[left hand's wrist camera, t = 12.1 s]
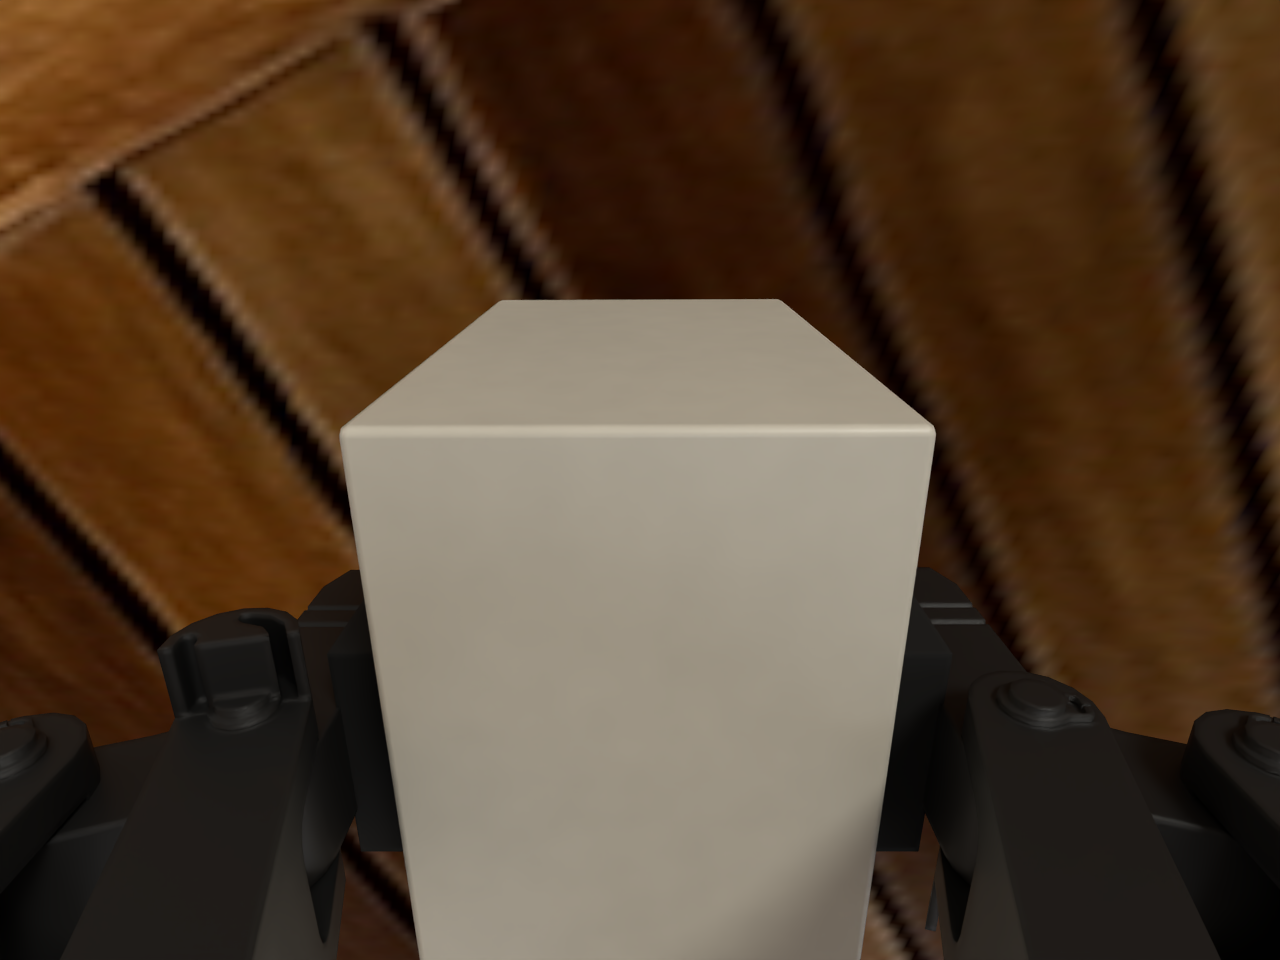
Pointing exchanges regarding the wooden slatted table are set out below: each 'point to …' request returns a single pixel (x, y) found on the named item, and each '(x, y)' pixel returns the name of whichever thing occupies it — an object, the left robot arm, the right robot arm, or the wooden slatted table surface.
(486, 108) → the wooden slatted table surface
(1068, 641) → the wooden slatted table surface
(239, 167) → the wooden slatted table surface
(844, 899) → the beam
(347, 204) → the wooden slatted table surface
